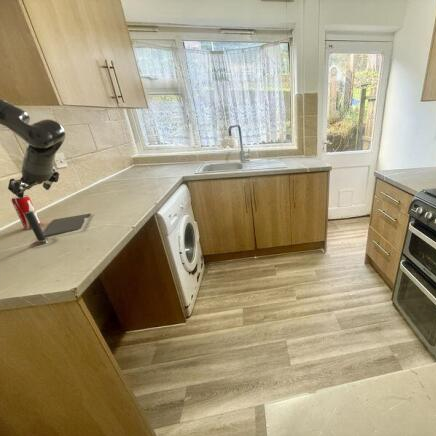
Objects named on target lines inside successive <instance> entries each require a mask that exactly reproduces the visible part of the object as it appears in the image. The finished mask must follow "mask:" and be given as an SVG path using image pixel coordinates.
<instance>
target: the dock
mask: <svg viewBox="0 0 436 436" xmlns="http://www.w3.org/2000/svg"><path fill="white" fill-rule="evenodd" d="M46 239H47V241H46V242H44V243H39V242H38V240H36V241H34V242H32V243H31V245H30V246H31V247H40V246H44V245H47V244H48V239H49V238H48V237H46Z"/></svg>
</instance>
